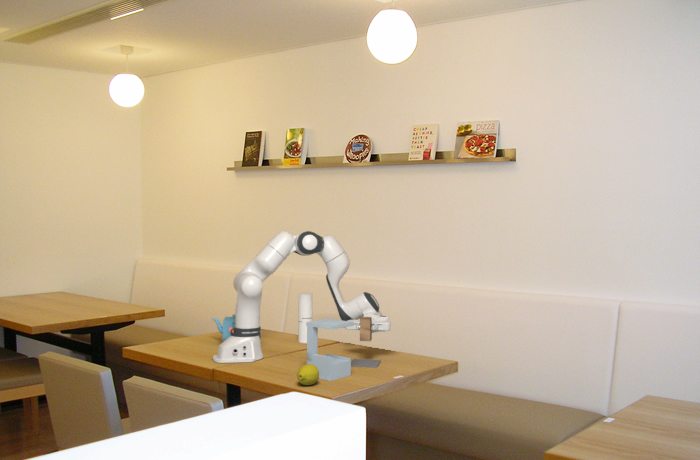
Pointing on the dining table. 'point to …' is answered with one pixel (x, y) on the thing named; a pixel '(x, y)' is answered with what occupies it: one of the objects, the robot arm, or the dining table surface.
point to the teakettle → (225, 326)
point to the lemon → (308, 374)
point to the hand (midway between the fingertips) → (365, 328)
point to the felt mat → (365, 363)
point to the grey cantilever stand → (329, 364)
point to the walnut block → (365, 328)
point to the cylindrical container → (304, 315)
